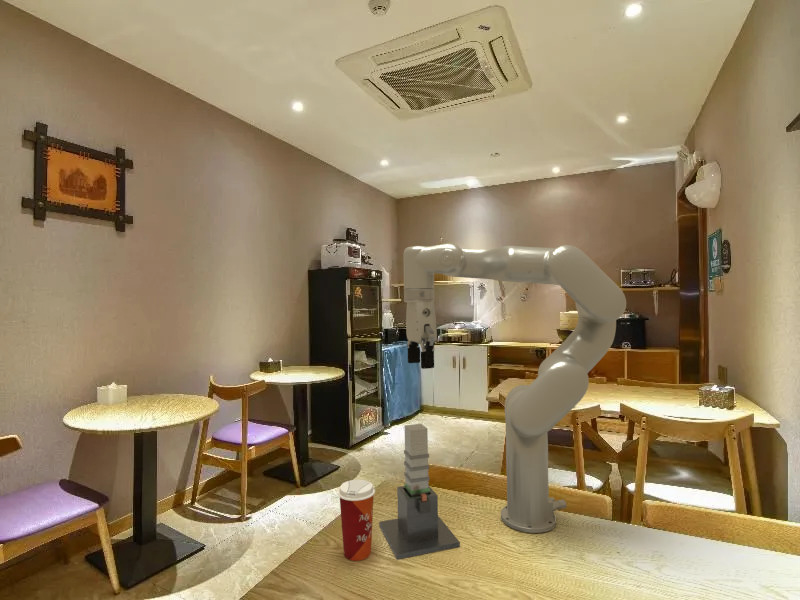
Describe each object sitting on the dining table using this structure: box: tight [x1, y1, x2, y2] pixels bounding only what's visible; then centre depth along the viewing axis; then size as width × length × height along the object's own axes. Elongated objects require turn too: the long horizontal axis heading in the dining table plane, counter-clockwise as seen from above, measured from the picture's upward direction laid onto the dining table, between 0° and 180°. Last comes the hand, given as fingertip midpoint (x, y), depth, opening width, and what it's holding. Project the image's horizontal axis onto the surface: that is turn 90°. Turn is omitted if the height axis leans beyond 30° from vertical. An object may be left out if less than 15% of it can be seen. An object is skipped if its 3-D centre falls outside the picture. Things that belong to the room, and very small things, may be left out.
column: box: [403, 423, 430, 497], centre depth 97 cm, size 4×4×18 cm
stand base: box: [378, 484, 461, 560], centre depth 97 cm, size 14×14×11 cm
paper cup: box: [337, 479, 376, 562], centre depth 91 cm, size 8×8×14 cm
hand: (420, 365), depth 108 cm, fingers open, 9 cm apart
